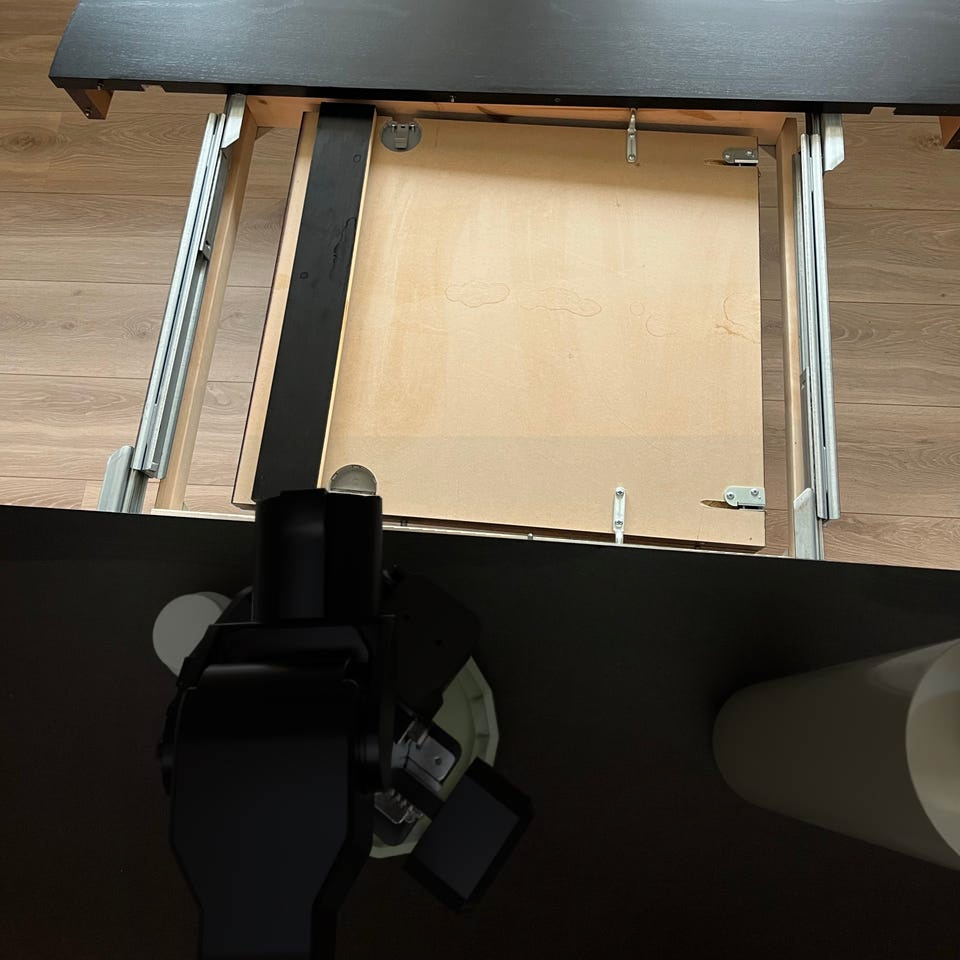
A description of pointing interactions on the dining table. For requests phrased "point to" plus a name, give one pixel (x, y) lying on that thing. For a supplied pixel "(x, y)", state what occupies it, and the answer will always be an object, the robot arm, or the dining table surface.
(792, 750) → the vase
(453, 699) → the bowl
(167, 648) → the pill bottle
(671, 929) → the dining table surface
